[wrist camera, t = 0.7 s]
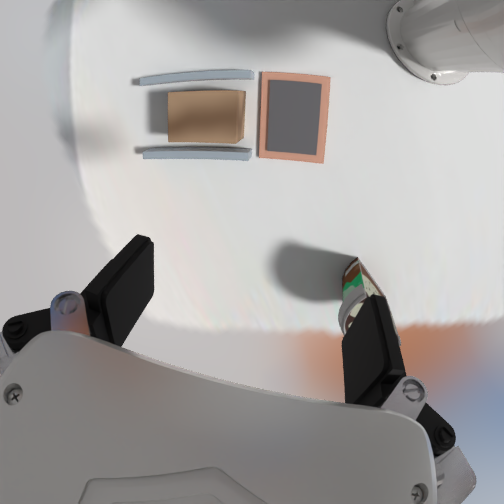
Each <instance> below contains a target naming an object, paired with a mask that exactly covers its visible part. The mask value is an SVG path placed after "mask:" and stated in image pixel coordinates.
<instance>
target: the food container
mask: <svg viewBox="0 0 504 504" xmlns="http://www.w3.org/2000/svg"><path fill="white" fill-rule="evenodd" d="M342 291H343V303H342V305H341V307H340V310H339V315H338V320H339V325H340V327H341V330H342V332H343V334H344V335H345V334H346V332H347V331H348V329H349V327H350V325H351V324H352V322H353V320H354V319H355V317H356V315H357V313H358V312H359V310H360V308H361V306H362V305H363V303H364V301H365V299H366V298H367V297H368V296H369V297H370V296H371V295H372V294H376V295H380V296H384V297H385V298H386V296H385V295H384V293H383V292H382V291H381V289H380V288H379V286H378V285H377V283H376V282H375V280H374V279H373V278H372V276H371V275H370V273H369V272H368V271H367V269H366V268H365V266H364V265H363V264H362V262H361V261H360V260H359V258H356V259H355V260H354V261H352V262H351V263H350V265H349V266H348V267H347V268H346V270H345V272H344V275H343V277H342ZM386 301H387V299H386ZM387 304H388V302H387ZM388 307H389V305H388ZM389 311H390V308H389ZM390 314H391V311H390ZM391 318H392V321H393V325H394V328H395V332H396V335H397V339H398V343H399V346H401V340H400V337H399V336H398V332H397V329H396V326H395V323H394V320H393V317H392V314H391Z"/></svg>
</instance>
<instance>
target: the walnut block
mask: <svg viewBox="0 0 504 504" xmlns="http://www.w3.org/2000/svg"><path fill="white" fill-rule="evenodd" d="M245 98H246V91H230V90H215V91H184V92H168V142H205V143H231V144H236V143H237V142H239V141H240V140H241V139H243V138H244V121H245Z"/></svg>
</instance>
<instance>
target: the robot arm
mask: <svg viewBox="0 0 504 504" xmlns="http://www.w3.org/2000/svg"><path fill="white" fill-rule="evenodd" d="M397 10H399V12H398V11H397ZM386 23H387V35H388V39H389V42H390V44H391V47H392V49H393V51H394V52H395V54H396V56H397V57H398V59H399V60H400V61H401V63H402V64H403V65H404V66H405V67H406V68H407V69H408V70H409V71H410V72H412V73H413V74H414V75H416V76H417V77H419V78H421V79H422V80H424V81H427V82H429V83H432V84H437V85H451V84H455V83H458V82H460V81H461V80H463V79H464V78H465V77H466V76H467V75H468V73H469V72H499V73H504V0H400V1H399V2H397V3H396V4H395V5H394V6H393V7H392V8H391V10H390V12H389V14H388V17H387V22H386ZM397 46H399V48H400V49H398V48H397ZM431 76H432V79H431ZM153 293H154V243H153V242H152V241H151V239H150V238H149V237H146V236H142V235H139V234H138V235H136V236H135V237H134V238H133V239H132V240H131V241H130V242H129V243H128V244H127V245H126V246H125V247H124V248H123V249H122V250H121V251H120V252H119V253H118V254H117V255H116V256H115V258H114V259H112V260H110V261H109V263H108V264H107V265H106V266H105V267H104V268H103V269H102V270H101V271H100V272H99V273H98V275H97V276H96V277H95V278H94V279H93V280H92V281H91V282H90V283H89V284H88V286H87V287H86V288H85V289H84V290H83V291H82V292H81V294H79V293H77V292H75V291H65V292H61V293H60V294H58V295H56V296H55V297H54V298H53V300H52V302H51V307H50V308H48V309H43V310H39V311H35V312H31V313H26V314H22V315H18V316H14V317H12V318H10V319H9V320H8V321H7V322H6V323H5V324H4V327H3V330H2V332H0V504H461V503H462V502H463V501H464V500H465V499H466V498H467V496H468V495H469V494H470V493H471V492H472V491H473V489H474V488H475V485H476V476H475V473H474V471H473V470H472V468H471V467H470V465H469V463H468V461H467V460H466V458H465V456H464V455H463V453H462V451H461V450H460V448H459V446H457V447H455V446H454V444H455V440H456V436H455V432H454V430H453V428H452V427H451V425H449V423H447V422H446V421H445V420H444V419H443V418H442V417H441V416H440V415H439V414H438V413H437V412H436V411H434V410H433V409H432V408H431V407H430V406H429V405H428V404H427V403H426V401H427V397H428V394H427V393H428V392H427V389H426V387H425V385H424V383H422V381H421V380H419V379H418V378H416V377H413V376H406V372H405V367H404V363H403V359H402V355H401V351H400V347H399V343H398V339H397V335H396V332H395V328H394V325H393V321H392V318H391V314H390V311H389V307H388V304H387V301H386V298H385V297H384V296H380V295H376V294H372V295H371V296H370V297H369V296H368V297H367V298H366V299H365V301H364V303H363V305H362V306H361V308H360V310H359V312H358V313H357V315H356V317H355V319H354V320H353V322H352V324H351V325H350V327H349V329H348V331H347V332H346V334H345V335H344V337H343V340H342V355H343V369H344V385H345V403H340V402H333V401H326V400H319V399H312V398H305V397H300V396H294V395H289V394H284V393H279V392H273V391H269V390H264V389H259V388H255V387H250V386H246V385H242V384H238V383H233V382H229V381H226V380H222V379H218V378H215V377H211V376H207V375H204V374H200V373H197V372H193V371H190V370H187V369H183V368H180V367H177V366H174V365H171V364H168V363H165V362H162V361H159V360H156V359H152V358H150V357H147V356H144V355H142V354H139V353H136V352H133V351H130V350H127V349H125V348H122V347H121V346H122V345H123V343H124V341H125V340H126V338H127V336H128V335H129V333H130V331H131V330H132V328H133V327H134V325H135V323H136V322H137V320H138V319H139V317H140V315H141V314H142V312H143V311H144V309H145V307H146V306H147V304H148V303H149V301H150V300H151V298H152V296H153Z"/></svg>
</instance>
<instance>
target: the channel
mask: <svg viewBox="0 0 504 504" xmlns="http://www.w3.org/2000/svg"><path fill="white" fill-rule="evenodd" d="M226 79H253V80H254V72H253V71H252V70H218V71H200V72H187V73H176V74H167V75H159V76H152V77H145V78H140V86H146V85H156V84H165V83H174V82H186V81H200V80H226ZM251 157H252V149H242V148H211V147H172V148H150V149H148V150H146V151H144V152H143V159H220V160H242V161H249V159H250V158H251Z"/></svg>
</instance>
